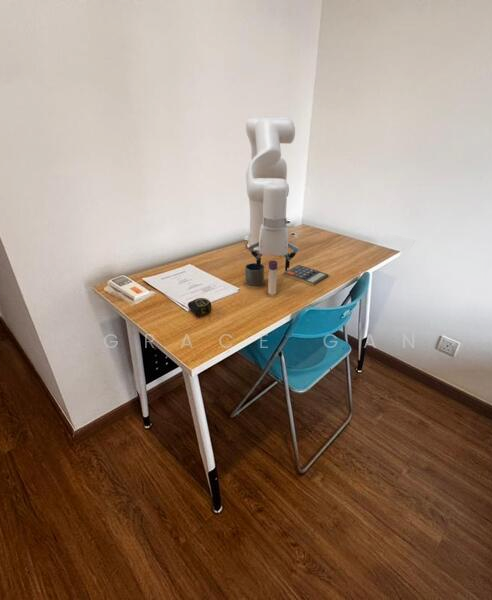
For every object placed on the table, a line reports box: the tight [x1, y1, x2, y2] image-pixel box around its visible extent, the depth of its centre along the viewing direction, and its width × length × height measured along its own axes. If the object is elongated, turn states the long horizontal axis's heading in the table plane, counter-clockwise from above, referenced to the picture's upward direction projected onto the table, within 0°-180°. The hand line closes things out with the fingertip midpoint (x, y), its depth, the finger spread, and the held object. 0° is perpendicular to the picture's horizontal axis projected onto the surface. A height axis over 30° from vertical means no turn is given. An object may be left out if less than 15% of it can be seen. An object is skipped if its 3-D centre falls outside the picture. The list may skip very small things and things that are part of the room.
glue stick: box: [267, 260, 278, 296], centre depth 117 cm, size 3×3×13 cm
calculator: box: [283, 264, 329, 286], centre depth 135 cm, size 12×1×15 cm
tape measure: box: [187, 297, 212, 317], centre depth 107 cm, size 7×7×4 cm
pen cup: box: [244, 262, 265, 288], centre depth 125 cm, size 7×7×8 cm
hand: (272, 269), depth 115 cm, fingers open, 9 cm apart
